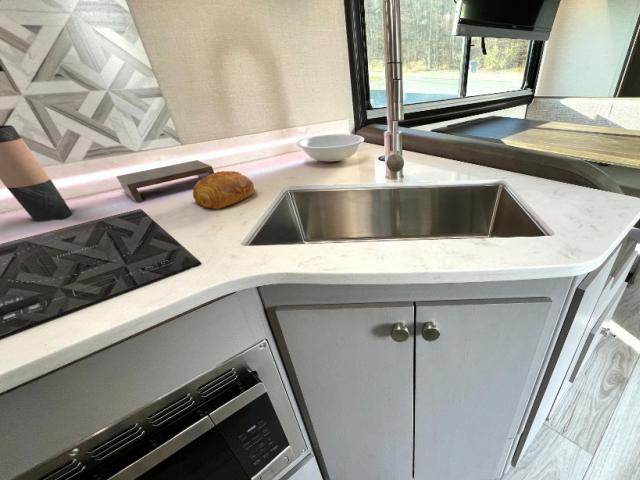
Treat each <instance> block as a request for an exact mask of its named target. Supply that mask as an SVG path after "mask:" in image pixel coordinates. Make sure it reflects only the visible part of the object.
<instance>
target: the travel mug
mask: <svg viewBox="0 0 640 480" xmlns="http://www.w3.org/2000/svg"><path fill="white" fill-rule="evenodd" d="M0 181H1V183H2V184H3V185H4V186H5V188H6V189H7V191H8V192H10V193H11V195H12V196H13V197H14V198H15V199H16V201H17V202H18V203H19V205H20V206H21V207H22V208H23V209H24V211H25V212H26V213H27V215H29V216H30V217H31V218H32V220H33V221H35V222H46V221H52V220H56V221H61V220H65V219H67V218H70V216H72V215H73V212H72V211H71V209H70V208H69V207H70V206H68V204H67V202H66V201H65V199H64V198H63V197H62V195H61V193H60V192H59V190H58V188H57V187H56V185H55V184H54V182H53V181H52V179H51V178H50V177H49V175H48V174H47V173H46V170H45V169H44V167H43V166H42V165H41V164H40V162H39V161H38V159H37V158H36V157H35V154H34V153H33V152H32V150H31V149H30V148H29V147H28V145H27V143H26V142H25V141H24V140H23V138H22V137H21V135H20V134H19V133H18V131H17V130H16V128H15V126H13V125H11V124H9V125H8V124H6V125H5V124H4V125H3V124H2V125H0Z"/></svg>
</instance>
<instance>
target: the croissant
mask: <svg viewBox="0 0 640 480" xmlns="http://www.w3.org/2000/svg"><path fill="white" fill-rule="evenodd" d="M254 192H255V184H254V182H253V181H252V180H251V179H250V178H249V177H248V176H246V175H244V174H242V173H241V172H240V171H239V172H238V171H233V170H221V171H216V172H214V173H213V174H210V175H209V176H207V177H205V178H203V179H201V178H200V179H199V180H198V181H197V182H196V183H195V185H194V186H193V190H192V197H193V199H194V201H195V203H196V204H197V205H199V206H202V207H204V208H209V209H216V210H217V209H218V210H219V209H223V208H225V207H228V206H231V205H234V204H236V203H238V202H241V201H243V200H244V199H247V198H248V197H250V196H252V195H253V193H254Z"/></svg>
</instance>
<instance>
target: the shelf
mask: <svg viewBox="0 0 640 480" xmlns="http://www.w3.org/2000/svg"><path fill="white" fill-rule="evenodd" d="M213 173H215V171H214V167H213V166H212V165H210V164H207V163H205V162H203V161H200V160H197V159H196V160H191V161H185V162H182V163H181V162H180V163H177V164H171V165H166V166H161V167H155V168H151V169H147V170H140V171H136V172H131V173H125V174H121V175H116V179H117V180H118V182H119V184H120V186H121V187H122V189H123V191H124V193H125V195H127V196H128V197H129V198H131V199H132V200H133V201H134V202H135V203H136V204H138V203H143V202H144V199H143V198H142V196H141V194H140V192H139V190H138V189H141V188H145V187H150V186H154V185H159V184H163V183H167V182H172V181H177V180H182V179H187V178H190V177H196V176H197V177H198V178H199V179H200V180H201V179H203V178H205V177H207V176H209V175H210V174H213Z"/></svg>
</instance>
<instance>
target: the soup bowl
mask: <svg viewBox="0 0 640 480" xmlns="http://www.w3.org/2000/svg"><path fill="white" fill-rule="evenodd" d="M363 142H365V138H364V137H363V136H361V135H358V134H352V133H351V134H350V133H331V134H321V135H313V136H309V137H305V138H302V139H300V140H298V141H297V142H296V146H297V147H298V148H300V149H302V150H303V152H304V153H305V154H306V155H307V156H308V157H310V158H311V159H313V160H316V161H320V162H338V161H343V160H346V159H350V158H351V157H352V156H354V155H355V154H356V153H357V152H358V150H359V148H360V145H361V144H362V143H363Z"/></svg>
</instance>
